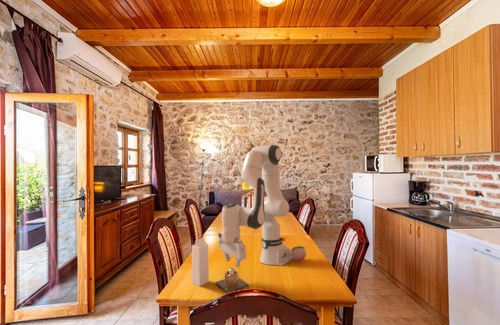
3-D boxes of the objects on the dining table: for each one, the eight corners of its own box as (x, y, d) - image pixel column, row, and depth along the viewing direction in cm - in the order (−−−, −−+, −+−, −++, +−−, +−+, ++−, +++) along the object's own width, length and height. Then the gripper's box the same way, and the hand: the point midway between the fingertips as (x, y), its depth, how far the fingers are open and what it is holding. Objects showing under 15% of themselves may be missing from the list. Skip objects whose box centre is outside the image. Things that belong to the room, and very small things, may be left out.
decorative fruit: (301, 258, 159) (300, 242, 160) (308, 262, 152) (308, 246, 152) (288, 260, 156) (287, 244, 156) (295, 265, 148) (294, 248, 148)
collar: (233, 279, 130) (233, 269, 130) (240, 283, 125) (240, 273, 125) (223, 282, 126) (222, 272, 126) (229, 287, 121) (229, 276, 121)
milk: (208, 282, 129) (208, 238, 129) (199, 286, 124) (199, 241, 124) (201, 278, 133) (200, 236, 133) (191, 283, 128) (191, 239, 128)
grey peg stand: (235, 277, 134) (235, 262, 134) (248, 286, 124) (248, 269, 124) (215, 283, 127) (215, 267, 127) (227, 293, 117) (227, 276, 117)
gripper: (248, 239, 119) (249, 268, 119) (226, 230, 136) (227, 256, 136) (237, 242, 115) (238, 272, 116) (216, 232, 132) (217, 259, 132)
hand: (232, 263), depth 126 cm, fingers open, 8 cm apart
